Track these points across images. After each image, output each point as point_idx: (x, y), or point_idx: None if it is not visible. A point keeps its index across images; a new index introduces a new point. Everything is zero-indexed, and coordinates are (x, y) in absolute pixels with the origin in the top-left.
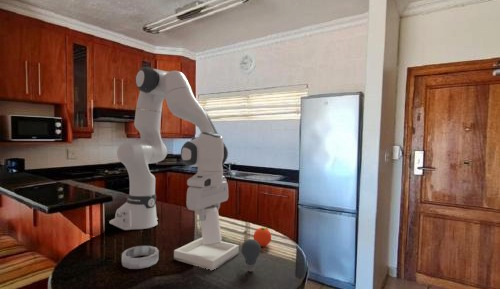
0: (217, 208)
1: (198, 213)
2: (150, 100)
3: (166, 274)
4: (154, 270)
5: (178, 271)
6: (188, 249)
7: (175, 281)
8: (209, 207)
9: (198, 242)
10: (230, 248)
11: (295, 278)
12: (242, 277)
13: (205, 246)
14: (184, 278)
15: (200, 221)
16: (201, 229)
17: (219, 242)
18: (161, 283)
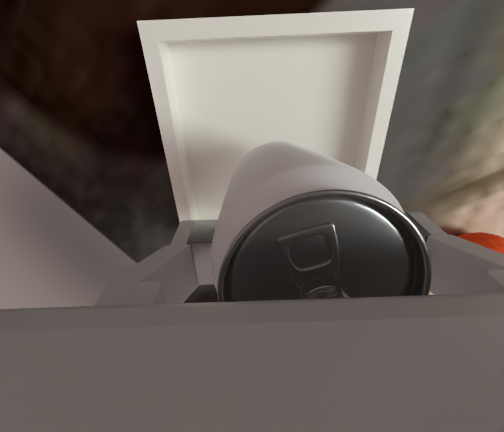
0: (440, 292)
1: (144, 263)
2: None
3: (54, 118)
4: (24, 44)
5: (103, 138)
6: (245, 39)
7: (59, 179)
8: (411, 243)
9: (336, 34)
10: None
11: None
12: (214, 293)
13: (344, 74)
14: (93, 188)
15: (237, 180)
16: (237, 171)
17: (368, 150)
18: (13, 152)
